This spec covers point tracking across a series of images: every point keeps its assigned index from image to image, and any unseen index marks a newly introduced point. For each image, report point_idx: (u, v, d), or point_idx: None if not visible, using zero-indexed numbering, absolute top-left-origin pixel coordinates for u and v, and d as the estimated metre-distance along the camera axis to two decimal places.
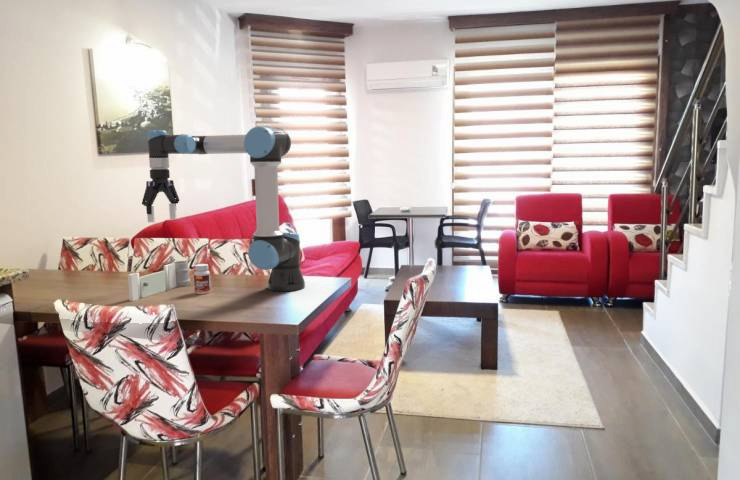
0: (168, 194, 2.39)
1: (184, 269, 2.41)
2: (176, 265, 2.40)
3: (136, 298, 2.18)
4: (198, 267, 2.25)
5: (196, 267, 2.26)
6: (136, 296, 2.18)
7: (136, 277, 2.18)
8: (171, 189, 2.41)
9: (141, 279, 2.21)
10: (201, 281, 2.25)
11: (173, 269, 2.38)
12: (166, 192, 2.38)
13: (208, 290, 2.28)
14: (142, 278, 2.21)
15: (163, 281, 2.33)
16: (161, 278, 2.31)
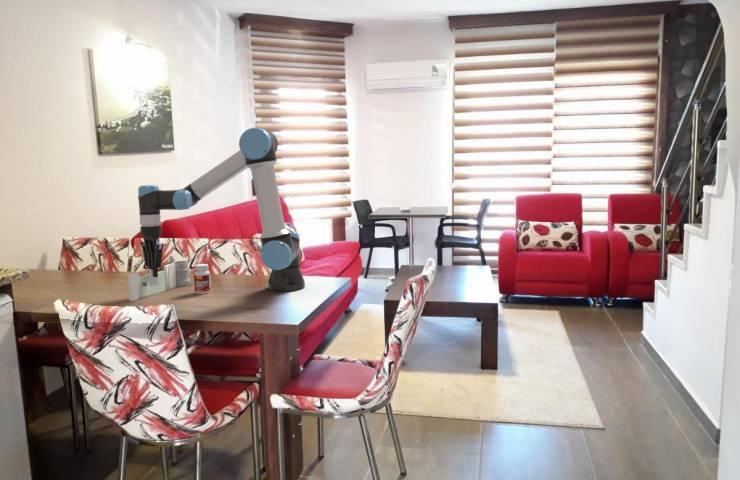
0: None
1: (184, 269, 2.41)
2: (176, 265, 2.40)
3: (136, 298, 2.18)
4: (198, 267, 2.25)
5: (196, 267, 2.26)
6: (136, 296, 2.18)
7: (136, 277, 2.18)
8: None
9: (140, 279, 2.21)
10: (201, 281, 2.25)
11: (173, 269, 2.38)
12: None
13: (208, 290, 2.28)
14: (141, 278, 2.21)
15: (163, 281, 2.33)
16: (161, 278, 2.31)
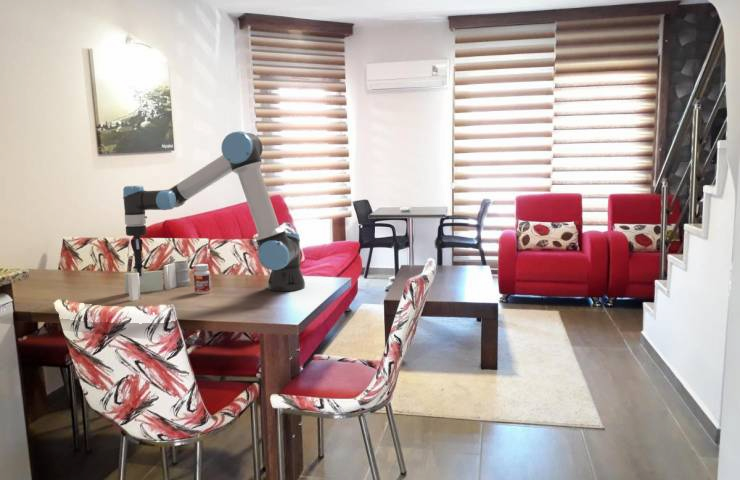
0: None
1: (184, 269, 2.41)
2: (176, 265, 2.40)
3: (136, 298, 2.18)
4: (198, 267, 2.25)
5: (196, 267, 2.26)
6: (136, 296, 2.18)
7: (136, 277, 2.18)
8: None
9: (126, 276, 2.28)
10: (201, 281, 2.25)
11: (173, 269, 2.38)
12: None
13: (208, 290, 2.28)
14: (127, 275, 2.28)
15: (159, 281, 2.34)
16: (156, 277, 2.33)
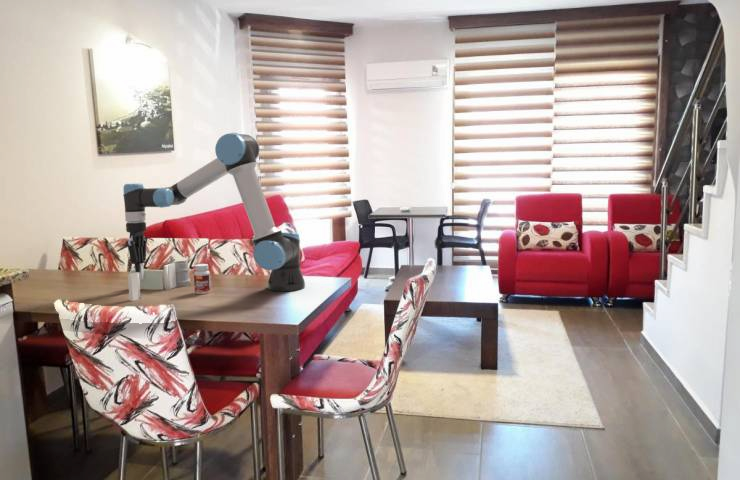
0: None
1: (184, 269, 2.41)
2: (176, 265, 2.40)
3: (136, 298, 2.18)
4: (198, 267, 2.25)
5: (196, 267, 2.26)
6: (136, 296, 2.18)
7: (136, 277, 2.18)
8: None
9: (131, 271, 2.37)
10: (201, 281, 2.25)
11: (173, 269, 2.38)
12: None
13: (208, 290, 2.28)
14: (132, 271, 2.36)
15: (159, 280, 2.35)
16: (157, 276, 2.35)
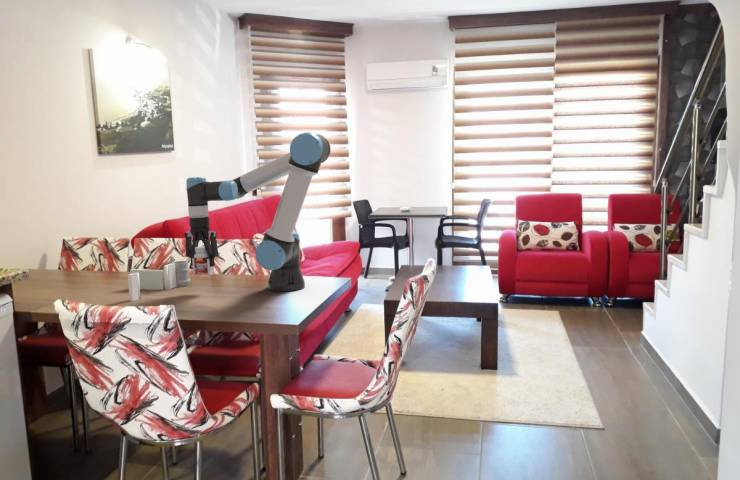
0: None
1: (184, 269, 2.41)
2: (176, 265, 2.40)
3: (136, 298, 2.18)
4: (198, 249, 2.24)
5: (196, 249, 2.25)
6: (136, 296, 2.18)
7: (136, 277, 2.18)
8: None
9: (131, 271, 2.37)
10: (201, 263, 2.24)
11: (173, 269, 2.38)
12: None
13: None
14: (132, 271, 2.36)
15: (159, 280, 2.35)
16: (157, 276, 2.35)
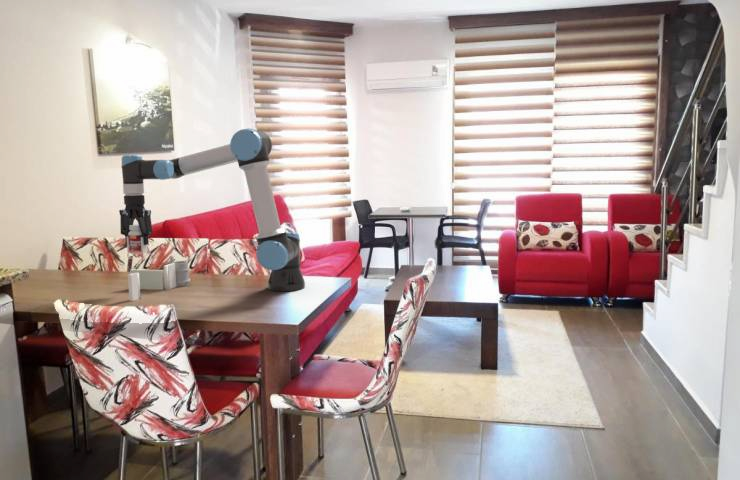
0: None
1: (184, 269, 2.41)
2: (176, 265, 2.40)
3: (136, 298, 2.18)
4: (132, 227, 2.25)
5: (130, 227, 2.25)
6: (136, 296, 2.18)
7: (136, 277, 2.18)
8: None
9: (131, 271, 2.37)
10: (135, 241, 2.25)
11: (173, 269, 2.38)
12: None
13: None
14: (132, 271, 2.36)
15: (159, 280, 2.35)
16: (157, 276, 2.35)
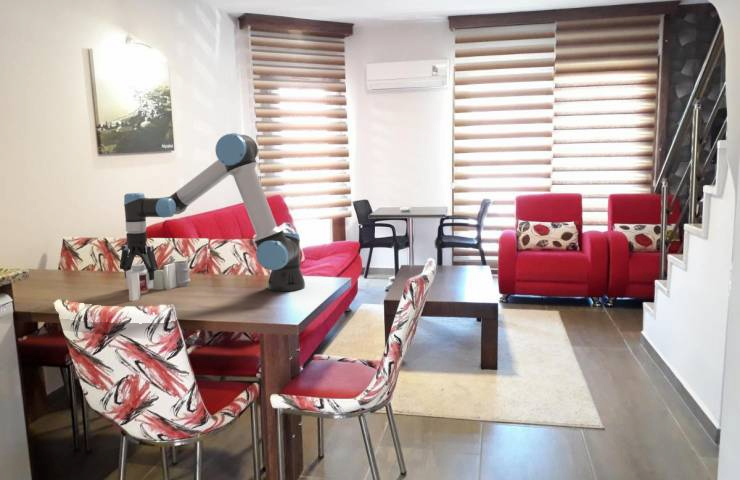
0: None
1: (184, 269, 2.41)
2: (176, 265, 2.40)
3: (136, 298, 2.18)
4: (135, 267, 2.27)
5: (133, 267, 2.28)
6: (136, 296, 2.18)
7: (136, 277, 2.18)
8: None
9: None
10: None
11: (173, 269, 2.38)
12: None
13: (145, 290, 2.30)
14: None
15: (159, 280, 2.35)
16: (157, 276, 2.35)
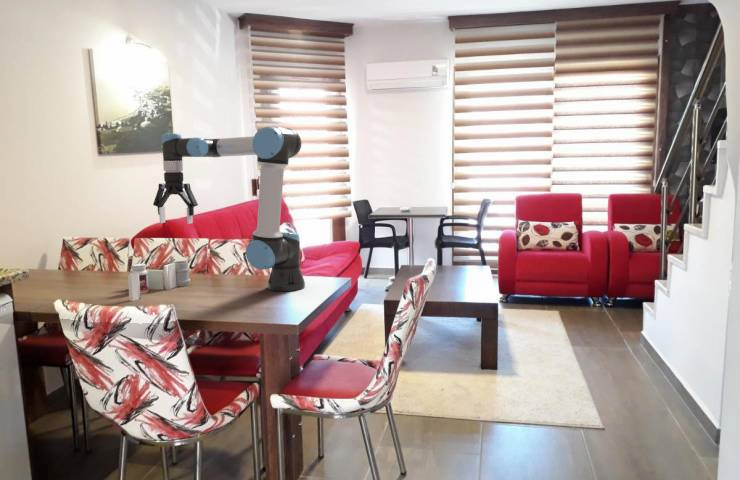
0: None
1: (184, 269, 2.41)
2: (176, 265, 2.40)
3: (136, 298, 2.18)
4: (135, 267, 2.27)
5: (133, 267, 2.28)
6: (136, 296, 2.18)
7: (136, 277, 2.18)
8: None
9: (131, 271, 2.37)
10: None
11: (173, 269, 2.38)
12: None
13: (145, 290, 2.30)
14: None
15: (159, 280, 2.35)
16: (157, 276, 2.35)
